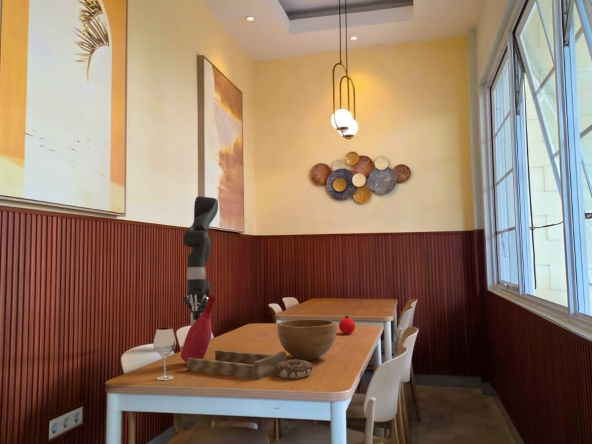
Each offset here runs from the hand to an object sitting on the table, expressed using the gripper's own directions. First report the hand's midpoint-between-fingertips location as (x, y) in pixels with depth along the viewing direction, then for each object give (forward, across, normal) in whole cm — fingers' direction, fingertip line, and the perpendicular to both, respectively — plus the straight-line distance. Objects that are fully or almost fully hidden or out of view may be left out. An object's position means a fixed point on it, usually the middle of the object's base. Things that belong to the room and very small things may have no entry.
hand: (196, 320), depth 192 cm
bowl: (+18, +37, +27) cm, 50 cm away
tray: (+18, +19, 0) cm, 26 cm away
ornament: (+18, +27, +92) cm, 98 cm away
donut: (+19, +45, +2) cm, 49 cm away
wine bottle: (+16, -4, 0) cm, 17 cm away
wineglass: (+18, +4, -22) cm, 29 cm away
